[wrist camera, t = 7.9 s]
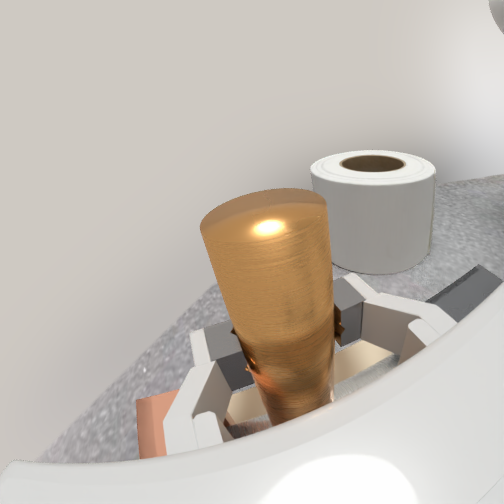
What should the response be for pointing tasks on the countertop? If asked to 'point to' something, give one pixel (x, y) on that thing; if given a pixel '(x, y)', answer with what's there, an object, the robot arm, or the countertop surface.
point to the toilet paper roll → (377, 209)
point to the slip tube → (281, 300)
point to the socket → (157, 423)
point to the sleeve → (466, 293)
